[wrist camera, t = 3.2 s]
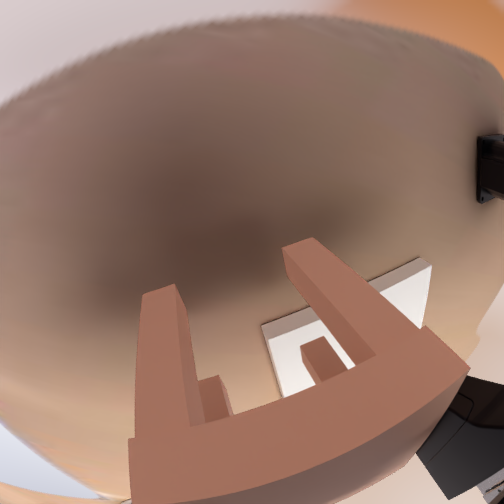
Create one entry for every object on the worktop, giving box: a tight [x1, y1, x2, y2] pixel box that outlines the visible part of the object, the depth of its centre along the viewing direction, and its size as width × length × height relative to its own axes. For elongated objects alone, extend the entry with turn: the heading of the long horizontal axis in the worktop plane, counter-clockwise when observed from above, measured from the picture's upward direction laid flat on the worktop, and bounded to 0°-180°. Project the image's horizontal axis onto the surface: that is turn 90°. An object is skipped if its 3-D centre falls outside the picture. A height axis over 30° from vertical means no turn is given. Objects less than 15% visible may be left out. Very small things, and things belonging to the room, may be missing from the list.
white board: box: [261, 257, 432, 398], centre depth 22 cm, size 14×14×2 cm
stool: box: [128, 237, 470, 504], centre depth 8 cm, size 6×6×7 cm
